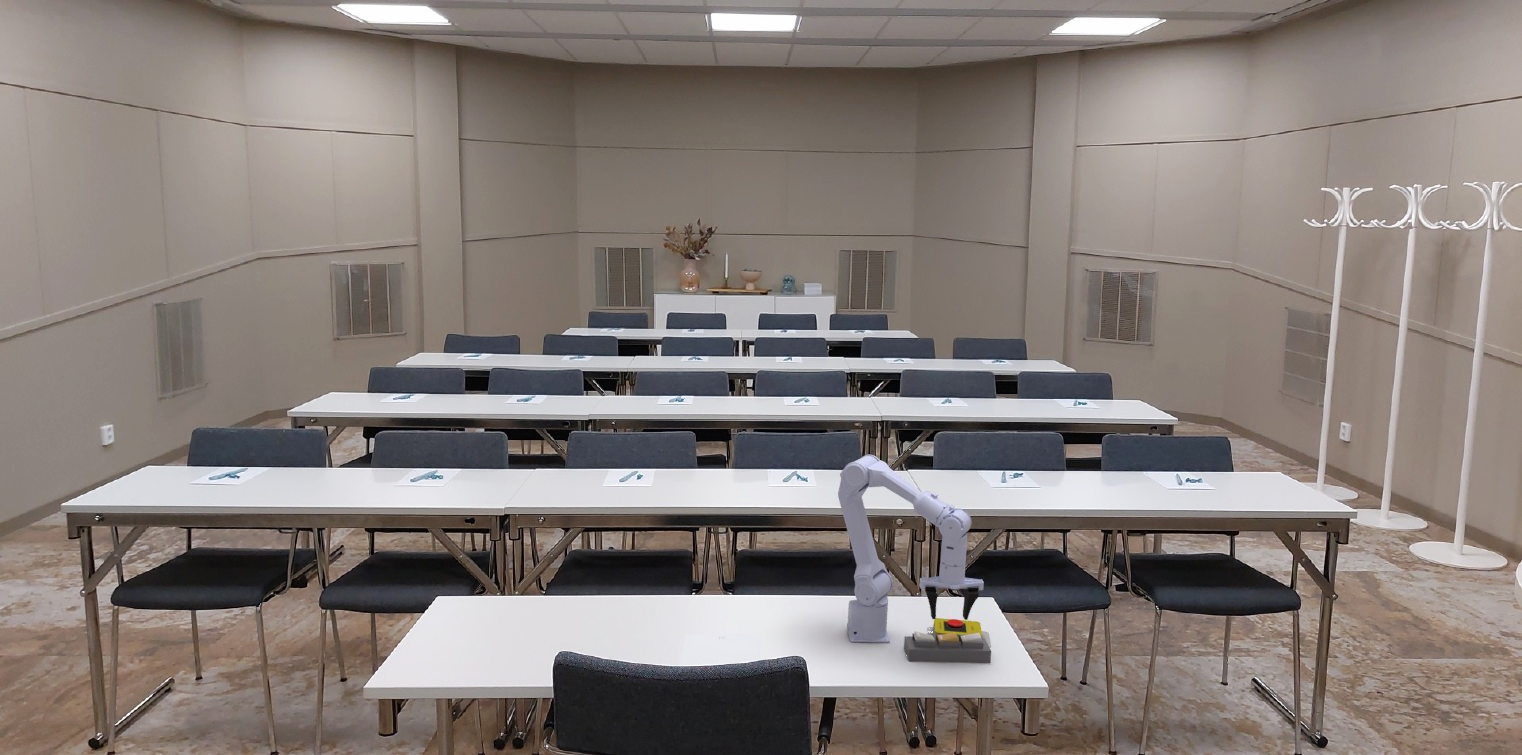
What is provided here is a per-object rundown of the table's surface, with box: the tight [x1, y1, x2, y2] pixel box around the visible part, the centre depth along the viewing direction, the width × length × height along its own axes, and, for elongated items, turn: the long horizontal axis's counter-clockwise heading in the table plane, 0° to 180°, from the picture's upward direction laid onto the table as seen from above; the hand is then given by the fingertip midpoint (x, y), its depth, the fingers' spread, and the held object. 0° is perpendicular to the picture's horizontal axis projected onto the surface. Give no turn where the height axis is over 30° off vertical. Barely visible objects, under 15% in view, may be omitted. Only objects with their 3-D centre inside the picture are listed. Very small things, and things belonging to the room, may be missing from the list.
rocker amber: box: [937, 632, 958, 642], centre depth 249 cm, size 4×3×1 cm, turn 91°
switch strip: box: [903, 632, 992, 664], centre depth 249 cm, size 19×7×4 cm, turn 91°
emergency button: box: [926, 617, 992, 649], centre depth 260 cm, size 9×4×15 cm
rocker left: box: [913, 630, 935, 641], centre depth 249 cm, size 4×3×1 cm, turn 92°
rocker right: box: [960, 633, 982, 642], centre depth 249 cm, size 4×3×1 cm, turn 91°
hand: (949, 617), depth 248 cm, fingers open, 7 cm apart
